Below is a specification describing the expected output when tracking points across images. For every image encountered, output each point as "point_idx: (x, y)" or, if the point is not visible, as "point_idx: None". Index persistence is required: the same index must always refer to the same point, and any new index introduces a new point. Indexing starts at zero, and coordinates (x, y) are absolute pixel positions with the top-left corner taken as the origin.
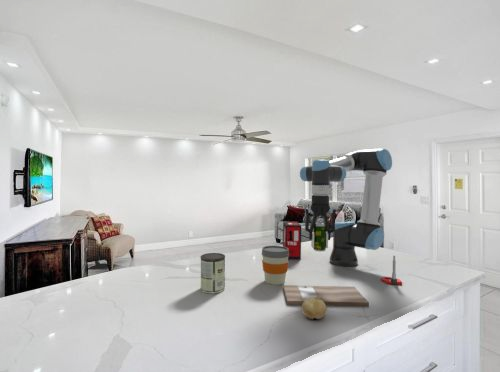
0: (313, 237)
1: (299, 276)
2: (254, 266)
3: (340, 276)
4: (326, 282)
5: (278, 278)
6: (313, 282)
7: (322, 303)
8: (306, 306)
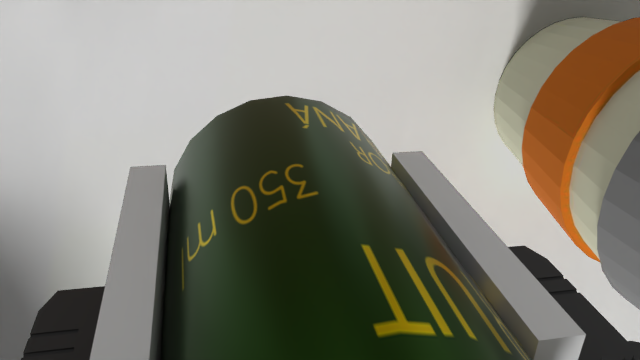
0: (494, 261)
1: None
2: None
3: (7, 264)
4: (156, 107)
5: (596, 24)
6: (272, 96)
7: None
8: None
